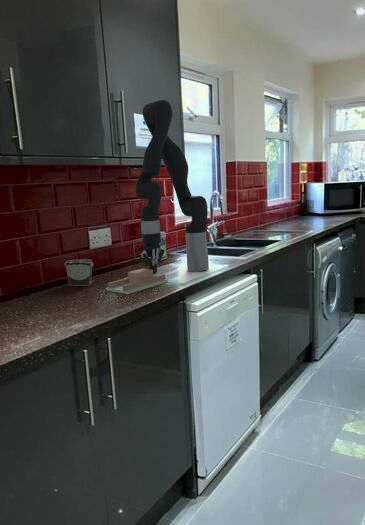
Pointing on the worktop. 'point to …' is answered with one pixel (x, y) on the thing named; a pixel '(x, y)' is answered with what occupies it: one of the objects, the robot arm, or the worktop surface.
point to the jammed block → (139, 275)
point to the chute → (135, 284)
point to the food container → (79, 272)
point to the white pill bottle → (163, 245)
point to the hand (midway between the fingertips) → (153, 273)
